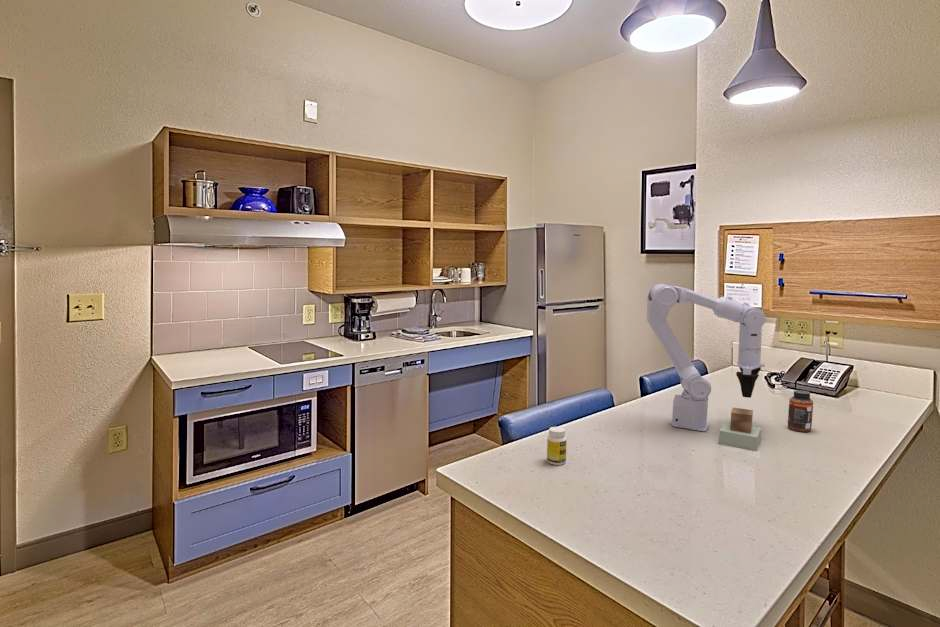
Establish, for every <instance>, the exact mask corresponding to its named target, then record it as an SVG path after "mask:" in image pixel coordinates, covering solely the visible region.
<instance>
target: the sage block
mask: <svg viewBox="0 0 940 627" xmlns="http://www.w3.org/2000/svg"><path fill="white" fill-rule="evenodd" d="M730 424H731V421H725V422H724V423H723V425H722V426H721V427H720V429H719V433H718V434H719V435H718V444H720V445H726V446H730V447H734V448H735V447H736V448H739V449H740V448H741V449H744V448H745V450H750V451H754V452H755V451H757V449H758V447H759V446H760V443H761V437H762V427H759V426H754V425H752V430H751V433H745V432H739V431H732V430H730Z"/></svg>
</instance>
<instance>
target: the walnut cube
mask: <svg viewBox="0 0 940 627" xmlns="http://www.w3.org/2000/svg"><path fill="white" fill-rule="evenodd" d="M753 411H754V409H747V408H739V407H732V408H731V412H730V413H731V414H730V422H731V424H730V430H732V431H739V432H745V433H751V430H752V426H753V415H754V412H753Z"/></svg>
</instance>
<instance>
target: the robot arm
mask: <svg viewBox="0 0 940 627" xmlns="http://www.w3.org/2000/svg"><path fill="white" fill-rule="evenodd" d="M646 301H647V302H646V304H647V305H646V321H647V322H648V324H649V326H650V328H651V329H652V332H654V334H655V336H656V337H657V339H658V341H659V343H660V344H661V345H662V348H663V350H664V351H665V353H666V354H667V355H668V356H667V357H668V358H669V360H670V361H671V363H672V364H673V366H674V367H675V370H677V374H678V376H679V378H680V385H681V387H682V388H683V390H682V392H681V394H674V397H673V402H672V418H671V420H672V421H671V427H676V428H679V429H680V428H681V429H682V428H683V429H685V430H687V429H688V430H695V431H699V432H707V430H708V428H709V426H710V422H708V405H709V404H708V403H709V396H710V394H711V392H712V385H711V383H710V381H708V380H707V379H705V378H704V377H703V376H702V375H701V374H700V372H699V371H698V370H697V368H696V367H695V365H694V364H693V362H692V360H691V359H690V358H689V355H688V354H687V352H686V351H685V349H684V347H683V346H682V344H681V341H680V340H679V339H678V337H677V336H676V334H675V332H674V331H673V329H672V327H671V326H670V324H669V322H668V321H667V319H668V316H669V313H670V311H671V310H672V308H673V307H674V306H675V305H676V304H683V303H686V302H687V303H690V304H695V305H696V306H697V305H698V306H701V307H704V308H708V309H711V311H712V312H713V314H714V316H716V317H719V318H723V319H724V320H729V321H732V322H734V323H739V333H738V352H737V353H738V354H737V355H738V358H737V359H738V361H737V363H736V364H737V366H738V367H739V370H740V371H736V373H735V375H736V377H737V379H738V382H739V385H740V391H741V395H742V398H750V399H751V398H752V395H753V391H754V388H755V386H756V381H757V380H758V378H759V376H760V375H759V372H760V371H761V370H762V368H765V367H766V363H765V362H764V363H762V362H761V360H762V359H761V355H762V338H763V337H762V335H763V333H762V332H763V326H764V325H765V323H766V321H767V317H766V316H765V313H764V311H763V310H762V309H761V308H759V307H755V306H751V305H749V303H748V302H745V301H744V302H740V301H737V300H735V299H733V297H732V296H728V295H727V296H726V297H725V296H720V297H718V298H713V297H711V296H708V295H705V294H703V293H701V292H697V291H695V290H692V289H689V288H686V287H682V286H676V285H671V284H669V285H667V284H665V283H662V282H661V283H655V284H654V285H652V286H651V288H650V289H649V292H648V294H647V296H646Z"/></svg>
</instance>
